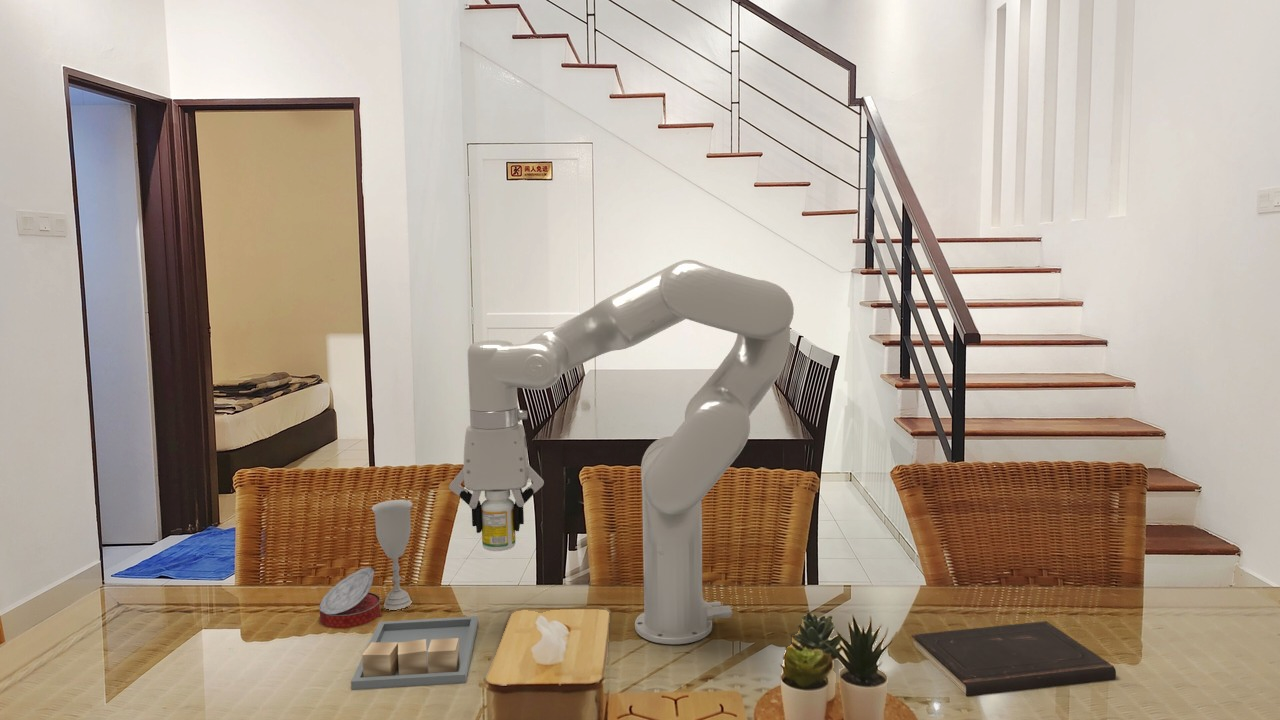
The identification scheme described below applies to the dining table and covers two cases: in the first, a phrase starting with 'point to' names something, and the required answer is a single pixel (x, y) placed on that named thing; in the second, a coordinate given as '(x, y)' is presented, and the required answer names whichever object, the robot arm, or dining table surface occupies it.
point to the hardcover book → (1012, 658)
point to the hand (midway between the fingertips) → (498, 528)
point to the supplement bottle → (498, 521)
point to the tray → (429, 631)
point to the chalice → (394, 543)
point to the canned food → (350, 601)
